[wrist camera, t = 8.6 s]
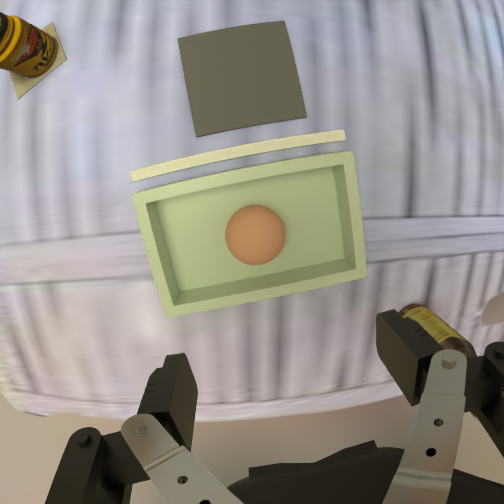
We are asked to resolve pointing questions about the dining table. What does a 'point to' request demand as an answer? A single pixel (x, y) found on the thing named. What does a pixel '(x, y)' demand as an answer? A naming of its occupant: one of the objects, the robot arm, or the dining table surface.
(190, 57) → the mat
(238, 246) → the ball
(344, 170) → the tray
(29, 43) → the condiment
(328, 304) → the dining table surface
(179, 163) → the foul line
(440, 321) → the sauce bottle
